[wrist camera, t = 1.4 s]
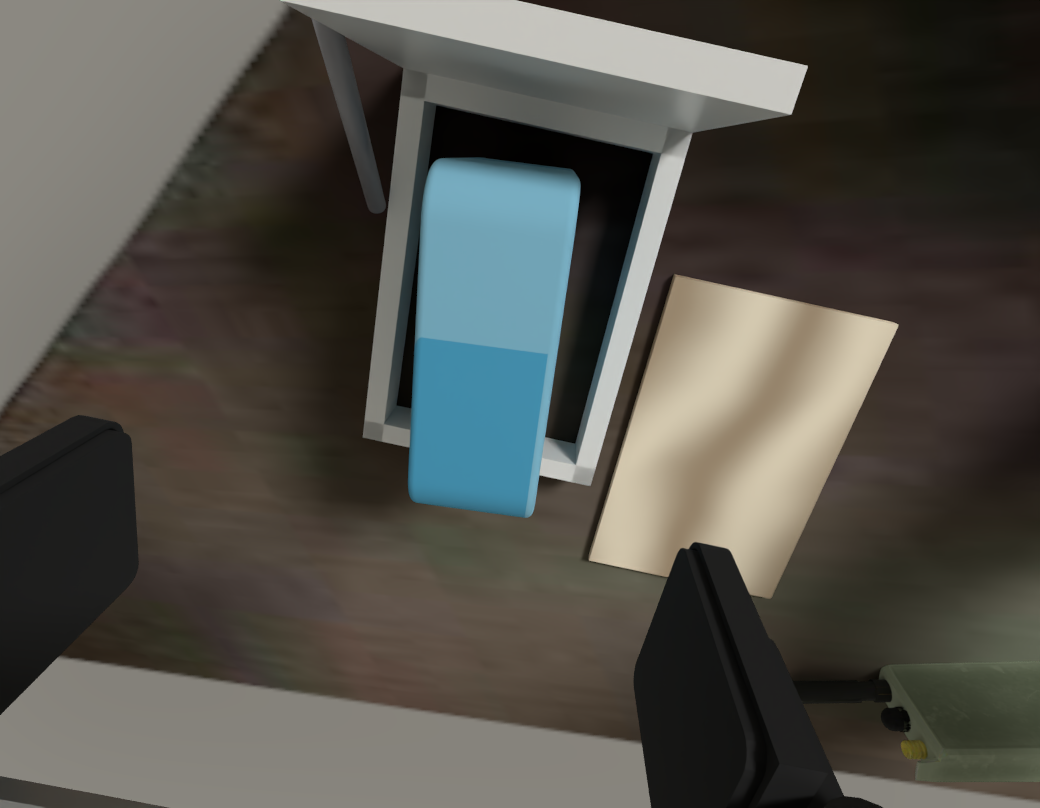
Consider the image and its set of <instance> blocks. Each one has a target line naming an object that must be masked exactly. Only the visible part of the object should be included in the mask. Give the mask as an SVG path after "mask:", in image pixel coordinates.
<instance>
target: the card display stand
mask: <svg viewBox="0 0 1040 808" xmlns="http://www.w3.org/2000/svg"><path fill="white" fill-rule="evenodd" d="M279 1H281V2H283V3H285V4H287V5H289V6H290V7H292V8H294V9H296V10H298V11H300V12H301V13H303V14H305V15H307V16H309V17H311V18H312V21H313V25H314V28H315V31H316V35H317V38H318V42H319V45H320V48H321V52H322V55H323V58H324V62H325V65H326V68H327V72H328V75H329V78H330V82H331V85H332V89H333V92H334V95H335V99H336V102H337V105H338V109H339V112H340V115H341V119H342V122H343V126H344V129H345V132H346V136H347V139H348V142H349V146H350V149H351V152H352V156H353V159H354V162H355V166H356V169H357V173H358V176H359V179H360V183H361V186H362V189H363V193H364V196H365V199H366V203H367V206H368V209H369V210H370V211H371V212H372V213H376V214H377V213H381V212H383V211H384V210H385V208H386V202H385V198H384V194H383V190H382V186H381V182H380V178H379V174H378V169H377V165H376V161H375V157H374V153H373V149H372V145H371V141H370V137H369V133H368V129H367V125H366V121H365V116H364V112H363V108H362V104H361V100H360V96H359V92H358V88H357V84H356V80H355V76H354V72H353V68H352V63H351V59H350V55H349V51H348V47H347V43H346V39H345V37H347V38H349V39H351V40H353V41H355V42H356V43H358V44H360V45H362V46H364V47H366V48H367V49H369V50H371V51H373V52H375V53H377V54H378V55H380V56H382V57H384V58H386V59H388V60H389V61H391V62H393V63H395V64H397V65H399V66H400V67H402V68H404V69H403V78H402V87H401V96H400V105H399V114H398V123H397V132H396V141H395V150H394V159H393V168H392V177H391V186H390V195H389V204H388V213H387V222H386V231H385V240H384V249H383V258H382V267H381V276H380V286H379V295H378V304H377V313H376V322H375V331H374V340H373V349H372V358H371V367H370V376H369V385H368V394H367V403H366V412H365V421H364V430H363V438H367V439H372V440H377V441H381V442H386V443H391V444H395V445H400V446H405V447H409V448H410V428H411V408H406V407H401V406H397V399H398V391H399V383H400V376H401V368H402V361H403V353H404V346H405V338H406V331H407V323H408V316H409V308H410V300H411V293H412V285H413V278H414V270H415V263H416V255H417V248H418V240H419V233H420V225H421V211H422V201H423V194H424V188H425V183H426V179H427V172H428V165H429V157H430V150H431V142H432V135H433V127H434V119H435V112H436V105H437V106H441V107H446V108H450V109H455V110H459V111H464V112H468V113H473V114H477V115H482V116H486V117H491V118H495V119H500V120H504V121H509V122H513V123H518V124H522V125H527V126H531V127H536V128H540V129H545V130H549V131H554V132H558V133H563V134H567V135H572V136H576V137H581V138H586V139H590V140H595V141H599V142H604V143H608V144H613V145H617V146H622V147H626V148H631V149H635V150H640V151H644V152H649V153H653V156H652V160H651V163H650V167H649V171H648V174H647V178H646V182H645V186H644V189H643V193H642V197H641V201H640V204H639V208H638V212H637V215H636V219H635V223H634V227H633V230H632V234H631V238H630V241H629V245H628V249H627V253H626V256H625V260H624V264H623V268H622V271H621V275H620V279H619V282H618V286H617V290H616V294H615V297H614V301H613V305H612V308H611V312H610V316H609V320H608V323H607V327H606V331H605V335H604V338H603V342H602V346H601V349H600V353H599V357H598V361H597V364H596V368H595V372H594V376H593V379H592V383H591V387H590V390H589V394H588V398H587V402H586V405H585V409H584V413H583V416H582V420H581V424H580V428H579V431H578V435H577V439H576V443H575V444H574V443H570V442H565V441H560V440H556V439H551V438H546V437H545V440H544V447H543V453H542V460H541V467H540V474H539V475H541V476H546V477H550V478H555V479H560V480H564V481H569V482H574V483H579V484H583V485H588V486H590V485H591V482H592V479H593V475H594V472H595V468H596V465H597V461H598V458H599V454H600V451H601V447H602V444H603V440H604V437H605V434H606V430H607V427H608V423H609V420H610V416H611V413H612V409H613V406H614V402H615V399H616V395H617V392H618V389H619V385H620V382H621V378H622V375H623V371H624V368H625V364H626V361H627V357H628V354H629V351H630V347H631V344H632V340H633V337H634V333H635V330H636V326H637V323H638V319H639V316H640V312H641V309H642V306H643V302H644V299H645V295H646V292H647V288H648V285H649V281H650V278H651V274H652V271H653V267H654V264H655V261H656V257H657V254H658V250H659V247H660V243H661V240H662V236H663V233H664V229H665V226H666V222H667V219H668V216H669V212H670V209H671V205H672V202H673V198H674V195H675V191H676V188H677V184H678V181H679V177H680V174H681V171H682V167H683V164H684V160H685V157H686V153H687V150H688V146H689V143H690V139H691V136H692V133H693V132H698V131H704V130H709V129H715V128H720V127H726V126H731V125H737V124H742V123H748V122H753V121H759V120H764V119H770V118H775V117H781V116H786V115H791V114H792V111H793V108H794V105H795V102H796V99H797V96H798V93H799V91H800V88H801V85H802V82H803V79H804V76H805V73H806V70H807V67H808V66H805V65H801V64H797V63H792V62H788V61H783V60H779V59H774V58H770V57H765V56H761V55H757V54H752V53H748V52H743V51H739V50H734V49H730V48H725V47H721V46H717V45H712V44H708V43H703V42H699V41H694V40H690V39H685V38H681V37H677V36H672V35H668V34H663V33H659V32H654V31H650V30H645V29H641V28H637V27H632V26H628V25H623V24H619V23H614V22H610V21H605V20H601V19H597V18H592V17H588V16H583V15H579V14H574V13H570V12H565V11H561V10H557V9H552V8H548V7H543V6H539V5H534V4H530V3H525V2H521V1H517V0H279Z"/></svg>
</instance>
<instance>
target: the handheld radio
mask: <svg viewBox="0 0 1040 808" xmlns="http://www.w3.org/2000/svg"><path fill="white" fill-rule="evenodd" d="M793 683H794V686H795V688H796V690H797V692H798V695H799V697H800V699H801V701H802V703H803V704H812V703H861V702H862V701H874V702H886V704H887V705H888V707H889V708H886V709H884V710H883V711H882V713H881V720H882V722H883V724H884V726H885V727H886V728H888V729H889V730H892V731H900V732H904V733H905V735H906V736H907V738H908V739H909V740H908V741H907V740H903V741H902V742H901V749H902V752H903V754H904V756H905V757H906V758H908V759H912V758H913V759H921V761H918V762H917V764H916V770H915V780H919V781H931V782H1040V661H1025V662H979V663H934V664H892V665H886V666H884V667H882V668H881V670H880V675H879V679H870V680H869V681H868V682H858V681H856V680H855V681H793Z"/></svg>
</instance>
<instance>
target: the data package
mask: <svg viewBox="0 0 1040 808" xmlns="http://www.w3.org/2000/svg"><path fill="white" fill-rule="evenodd" d="M580 187H581V184H580V180H579V178H578V177H577V175H576V173H575V172H574V171H573V170H572V169H567V168H559V167H551V166H544V165H536V164H528V163H520V162H512V161H504V160H496V159H488V158H480V157H475V158H440V159H437V160H436V161H435V162H434V163H433V164H432V166H431V168H430V170H429V173H428V176H427V179H426V183H425V188H424V194H423V201H422V211H421V227H420V247H419V267H418V287H417V307H416V327H415V347H414V367H413V387H412V408H411V428H410V448H409V468H408V491H409V495H410V498H411V499H412V500H413V501H414V502H416V503H422V504H429V505H437V506H444V507H451V508H458V509H466V510H473V511H480V512H487V513H495V514H502V515H509V516H516V517H524V518H527V517H530V516H531V515H532V514H533V511H534V506H535V500H536V494H537V487H538V480H539V474H540V467H541V460H542V453H543V447H544V440H545V433H546V426H547V419H548V413H549V406H550V399H551V392H552V386H553V379H554V372H555V365H556V358H557V352H558V345H559V338H560V331H561V325H562V318H563V311H564V304H565V297H566V291H567V284H568V277H569V270H570V263H571V257H572V250H573V243H574V236H575V229H576V222H577V215H578V207H579V198H580Z"/></svg>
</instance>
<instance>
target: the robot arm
mask: <svg viewBox="0 0 1040 808" xmlns="http://www.w3.org/2000/svg"><path fill="white" fill-rule="evenodd" d="M138 562H139V561H138V544H137V527H136V510H135V492H134V475H133V458H132V443H131V438H130V436H129V435H128V434H126V433H124V432H123V429H122V427H121V425H120V424H118V423H116V422H113V421H108V420H103V419H98V418H93V417H88V416H82V415H78V416H75V417H72V418H70V419H68V420H66V421H65V422H63V423H61V424H59V425H57V426H55V427H53V428H52V429H50V430H48V431H46V432H44V433H42V434H40V435H39V436H37V437H35V438H33V439H31V440H29V441H28V442H26V443H24V444H22V445H20V446H18V447H16V448H15V449H13V450H11V451H9V452H7V453H5V454H3V455H2V456H0V715H1V714H2V713H3V712H4V711H5V709H7V707H9V706H10V705H11V703H12V702H14V701H15V700H16V699H17V698H18V697H19V695H20V694H22V693H23V692H24V691H25V690H26V689H27V688H28V686H30V685H31V684H32V683H33V682H34V681H35V679H36V678H38V676H39V675H40V674H41V673H42V672H44V671H45V670H46V668H47V667H48V666H49V665H50V664H51V663H52V662H53V661H54V660H55V659H56V658H57V657H58V656H59V655H60V654H61V653H62V652H63V651H64V650H65V649H66V648H67V647H68V646H69V645H70V644H71V643H72V642H73V641H74V640H75V639H76V638H77V637H78V636H79V635H80V634H81V633H82V632H83V631H84V630H85V629H86V628H87V627H88V626H89V625H90V624H91V623H92V622H93V621H94V620H95V619H96V618H97V617H98V616H99V615H100V614H101V613H102V612H103V611H104V610H105V609H106V608H107V607H108V606H109V605H110V604H111V603H112V602H113V601H114V600H115V599H116V598H117V597H118V596H119V595H120V594H121V593H122V592H123V591H124V590H125V589H126V588H127V587H128V586H129V585H130V584H131V582H132V581H133V579H134V577H135V575H136V573H137V569H138ZM634 691H635V698H636V705H637V712H638V719H639V726H640V733H641V740H642V747H643V753H644V760H645V767H646V774H647V780H648V788H649V795H650V802H651V808H883V807H881V806H879V805H877V804H874V803H871V802H869V801H867V800H864V799H861V798H855V797H846V796H844V795H843V793H842V791H841V788H840V786H839V784H838V782H837V779H836V777H835V775H834V773H833V771H832V768H831V766H830V764H829V762H828V759H827V757H826V755H825V753H824V750H823V748H822V746H821V744H820V741H819V739H818V737H817V735H816V733H815V730H814V728H813V726H812V724H811V721H810V719H809V717H808V715H807V712H806V710H805V708H804V706H803V703H802V701H801V699H800V697H799V695H798V692H797V690H796V688H795V686H794V683H793V681H792V679H791V677H790V674H789V672H788V670H787V668H786V666H785V663H784V661H783V659H782V657H781V654H780V652H779V650H778V648H777V646H776V645H775V643H774V642H773V641H772V640H771V639H770V638H768V635H767V633H766V631H765V628H764V626H763V624H762V622H761V619H760V617H759V615H758V612H757V610H756V608H755V606H754V603H753V601H752V599H751V596H750V594H749V592H748V590H747V587H746V585H745V583H744V581H743V578H742V576H741V574H740V571H739V569H738V567H737V565H736V562H735V560H734V558H733V555H732V553H731V552H730V550H729V549H727V548H723V547H718V546H713V545H709V544H704V543H699V542H694V543H692V545H691V546H690V547H689V549H686V548H681V549H680V550H679V551H678V553H677V555H676V558H675V560H674V563H673V566H672V568H671V571H670V574H669V576H668V579H667V582H666V585H665V587H664V590H663V593H662V595H661V598H660V601H659V603H658V606H657V609H656V611H655V614H654V617H653V619H652V622H651V625H650V627H649V630H648V633H647V635H646V638H645V641H644V643H643V646H642V649H641V651H640V654H639V657H638V659H637V662H636V666H635V671H634ZM0 808H167V807H162V806H157V805H151V804H146V803H141V802H136V801H130V800H125V799H120V798H114V797H109V796H104V795H98V794H93V793H88V792H82V791H77V790H72V789H66V788H61V787H56V786H50V785H45V784H39V783H34V782H28V781H22V780H17V779H12V778H7V777H1V776H0Z"/></svg>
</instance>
